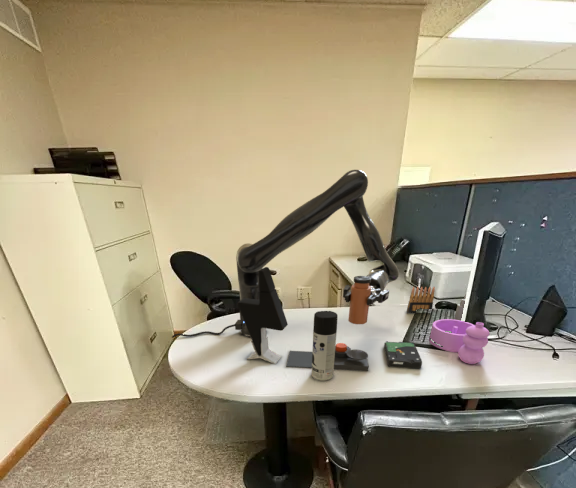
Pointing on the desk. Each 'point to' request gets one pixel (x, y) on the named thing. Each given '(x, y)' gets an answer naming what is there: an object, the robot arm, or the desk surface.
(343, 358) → the grey base plate
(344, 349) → the power button
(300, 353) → the plate
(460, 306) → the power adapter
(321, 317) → the spray can
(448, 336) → the container set
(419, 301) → the ammunition clip
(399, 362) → the disk drive
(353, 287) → the orange bottle
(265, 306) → the award
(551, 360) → the desk surface
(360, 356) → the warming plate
